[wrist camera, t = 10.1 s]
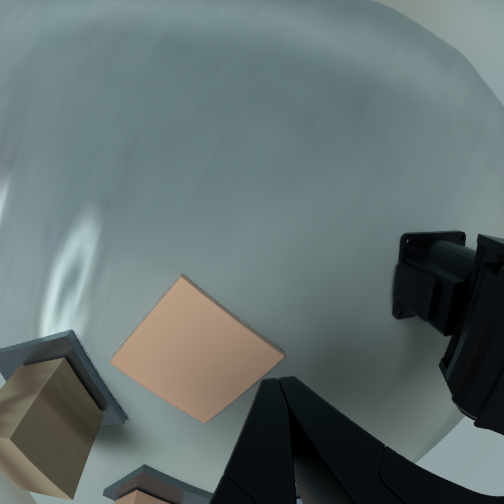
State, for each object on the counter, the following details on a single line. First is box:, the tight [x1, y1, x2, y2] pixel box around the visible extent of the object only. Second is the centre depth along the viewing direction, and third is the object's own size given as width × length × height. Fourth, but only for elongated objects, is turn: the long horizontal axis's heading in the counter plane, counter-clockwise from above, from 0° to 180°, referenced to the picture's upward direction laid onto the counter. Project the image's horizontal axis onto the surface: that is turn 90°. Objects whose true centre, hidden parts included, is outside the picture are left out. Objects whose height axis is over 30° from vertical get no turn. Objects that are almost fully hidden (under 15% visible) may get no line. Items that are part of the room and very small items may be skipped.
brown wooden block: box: [0, 358, 104, 500], centre depth 14 cm, size 6×6×9 cm
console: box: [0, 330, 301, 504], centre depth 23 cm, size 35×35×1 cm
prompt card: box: [110, 274, 285, 423], centre depth 20 cm, size 9×9×1 cm
